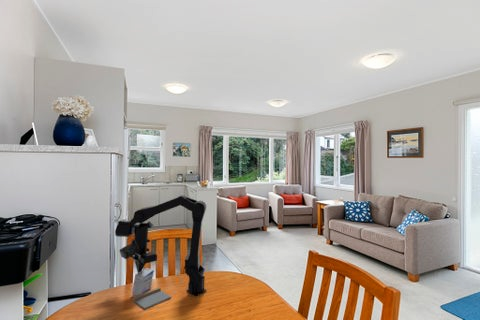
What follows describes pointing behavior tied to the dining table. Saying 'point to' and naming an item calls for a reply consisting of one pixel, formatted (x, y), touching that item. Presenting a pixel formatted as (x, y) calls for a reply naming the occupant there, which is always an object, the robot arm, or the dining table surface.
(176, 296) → the dining table surface
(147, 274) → the medicine box
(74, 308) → the dining table surface
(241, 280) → the dining table surface
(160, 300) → the mat
